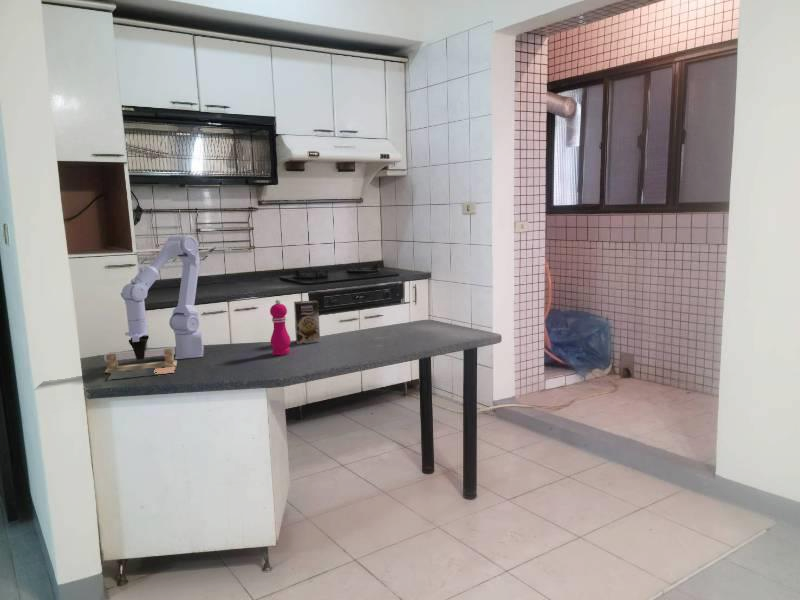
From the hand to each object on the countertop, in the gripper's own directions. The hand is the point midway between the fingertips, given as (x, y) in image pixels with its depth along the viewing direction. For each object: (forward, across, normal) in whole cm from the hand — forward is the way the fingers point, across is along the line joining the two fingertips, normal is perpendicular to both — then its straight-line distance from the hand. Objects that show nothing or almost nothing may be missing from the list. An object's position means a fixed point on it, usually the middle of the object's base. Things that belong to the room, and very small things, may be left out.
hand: (140, 358), depth 200 cm
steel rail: (0, 0, 0) cm, 0 cm away
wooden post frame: (+3, 0, 0) cm, 3 cm away
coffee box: (+4, -17, +59) cm, 62 cm away
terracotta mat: (+3, +8, +1) cm, 9 cm away
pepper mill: (+4, -1, +47) cm, 47 cm away
